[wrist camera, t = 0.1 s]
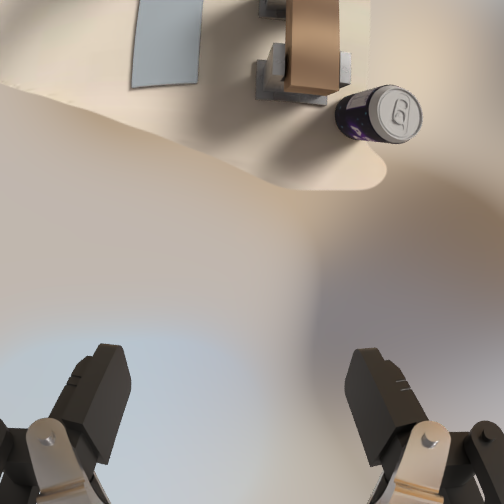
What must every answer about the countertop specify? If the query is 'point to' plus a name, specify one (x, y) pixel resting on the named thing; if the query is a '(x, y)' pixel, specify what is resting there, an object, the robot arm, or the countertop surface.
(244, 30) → the countertop surface
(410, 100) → the beverage can
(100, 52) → the countertop surface
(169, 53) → the mat
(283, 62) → the grey bracket
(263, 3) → the grey metal bracket
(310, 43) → the rail
